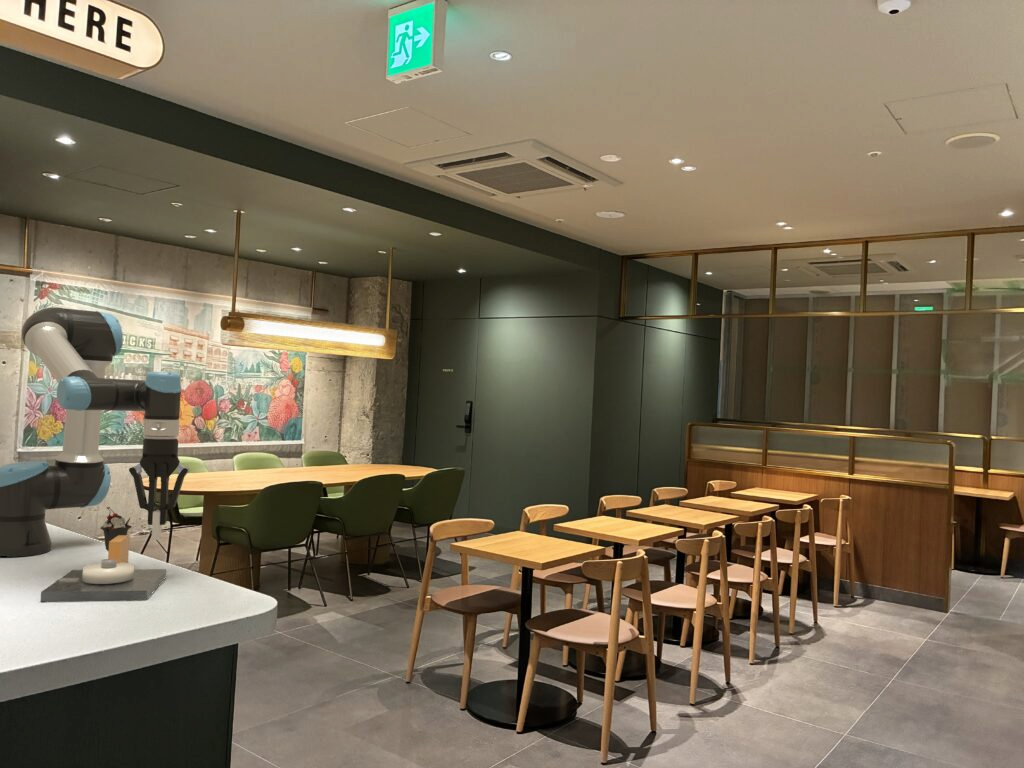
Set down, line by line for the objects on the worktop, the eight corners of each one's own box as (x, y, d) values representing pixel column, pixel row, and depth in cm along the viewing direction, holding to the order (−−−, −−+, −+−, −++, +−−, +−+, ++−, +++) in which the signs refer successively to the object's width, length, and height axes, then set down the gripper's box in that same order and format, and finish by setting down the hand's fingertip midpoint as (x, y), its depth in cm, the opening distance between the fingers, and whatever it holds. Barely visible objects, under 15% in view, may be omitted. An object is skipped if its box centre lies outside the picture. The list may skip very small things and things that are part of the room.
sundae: (91, 569, 186) (95, 507, 187) (113, 563, 193) (116, 503, 193) (113, 572, 184) (116, 509, 185) (134, 566, 191) (138, 506, 191)
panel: (71, 578, 176) (72, 568, 176) (165, 577, 181) (166, 568, 181) (40, 601, 157) (41, 590, 157) (146, 600, 162) (147, 589, 162)
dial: (127, 583, 165) (129, 549, 166) (75, 584, 163) (77, 549, 163) (145, 566, 182) (147, 535, 182) (98, 566, 180) (100, 535, 180)
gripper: (126, 437, 175) (121, 542, 174) (188, 439, 178) (183, 541, 177) (134, 436, 182) (129, 536, 182) (193, 437, 185) (189, 536, 185)
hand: (156, 538), depth 180 cm, fingers closed
